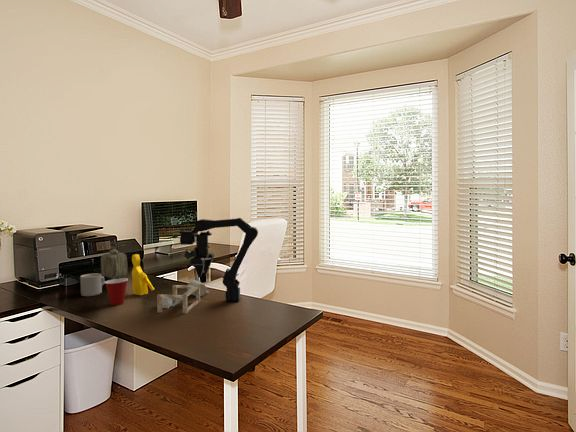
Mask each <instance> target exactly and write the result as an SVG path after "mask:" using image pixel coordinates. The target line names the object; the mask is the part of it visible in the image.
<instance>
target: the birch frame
mask: <svg viewBox="0 0 576 432" xmlns="http://www.w3.org/2000/svg"><path fill="white" fill-rule="evenodd" d="M192 287H195V288H194V289H192V290H191V291H189V292H188V293H187V294H185V295H182V294H178V289H187V288H192ZM194 291H196V296H195V301H194V302H193V303H191V304H190V305H188V297H190V295H192V293H193V292H194ZM162 297H164V298H172V303H174V302H175V301H176V300H177V299H178V298H183V300H182V314H188V312H190V311H191V310H192V309H193V308H194V307H195V306H196V305H197V304H198V303H200V302H201V296H200V286H188V285H181V284H180V285H176V284H173V285H172V294H162V293H161V294H160V293H158V294H157V295H156V302H157V303H156V305H157V308H156V310H157V313H158V314H159V313H160V314H162V312H163V308H162Z"/></svg>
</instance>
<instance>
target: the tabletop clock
mask: <svg viewBox="0 0 576 432" xmlns="http://www.w3.org/2000/svg"><path fill="white" fill-rule="evenodd" d="M111 244H114V245H115V246H112V245H111ZM109 247H110V248H111V249H110V250H109V251H108V253H105V254H103V255H102V256H100V274H101V276H103V277H106V278H109V279H110V280H113V279H117V278H118V279H121V278H122V277H125V276H127V275H128V258H127V255H126V254H125V253H123V252H119V251H118V249H117V247H118V245H117V243H116V242H115V241H112V242H110V243H109Z"/></svg>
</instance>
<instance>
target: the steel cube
mask: <svg viewBox="0 0 576 432" xmlns="http://www.w3.org/2000/svg"><path fill="white" fill-rule="evenodd" d="M172 304H173V298H164V297H162V309H169V308H170V307H173V306H172Z"/></svg>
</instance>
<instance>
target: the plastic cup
mask: <svg viewBox="0 0 576 432" xmlns="http://www.w3.org/2000/svg"><path fill="white" fill-rule="evenodd" d="M128 281H129V278H127V277H126V278H125V277H123V278H115V279H113V280H111V279H108V280H105V282H104V285H105V288H106V291H107V295H108V299H109V304H110V305H111V306H113V305H115V306H120V305H123V304H124V303H125V298H126V292H127V291H126V290H127V285H128Z"/></svg>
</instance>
